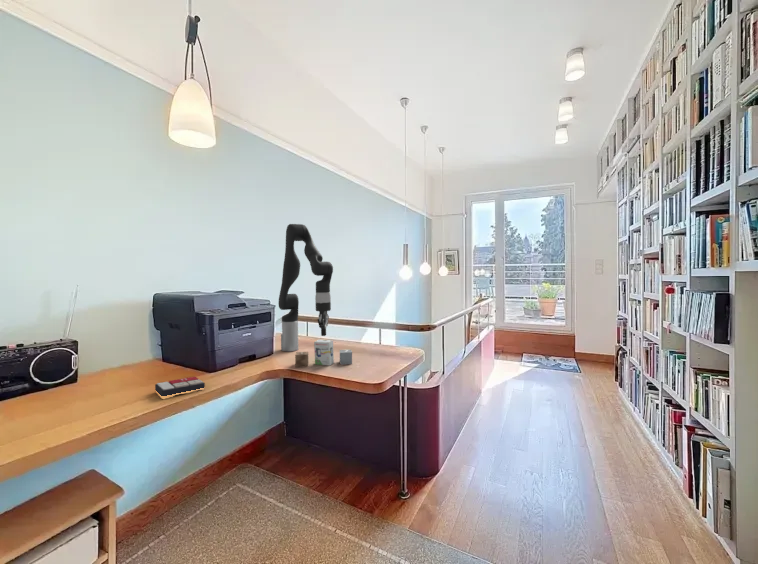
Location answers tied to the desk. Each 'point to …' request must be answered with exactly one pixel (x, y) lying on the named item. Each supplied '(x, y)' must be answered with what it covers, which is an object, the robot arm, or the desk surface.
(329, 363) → the ink box
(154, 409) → the desk surface
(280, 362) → the desk surface
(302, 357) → the numbered block one
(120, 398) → the desk surface
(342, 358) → the numbered block seven
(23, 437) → the desk surface
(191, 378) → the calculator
